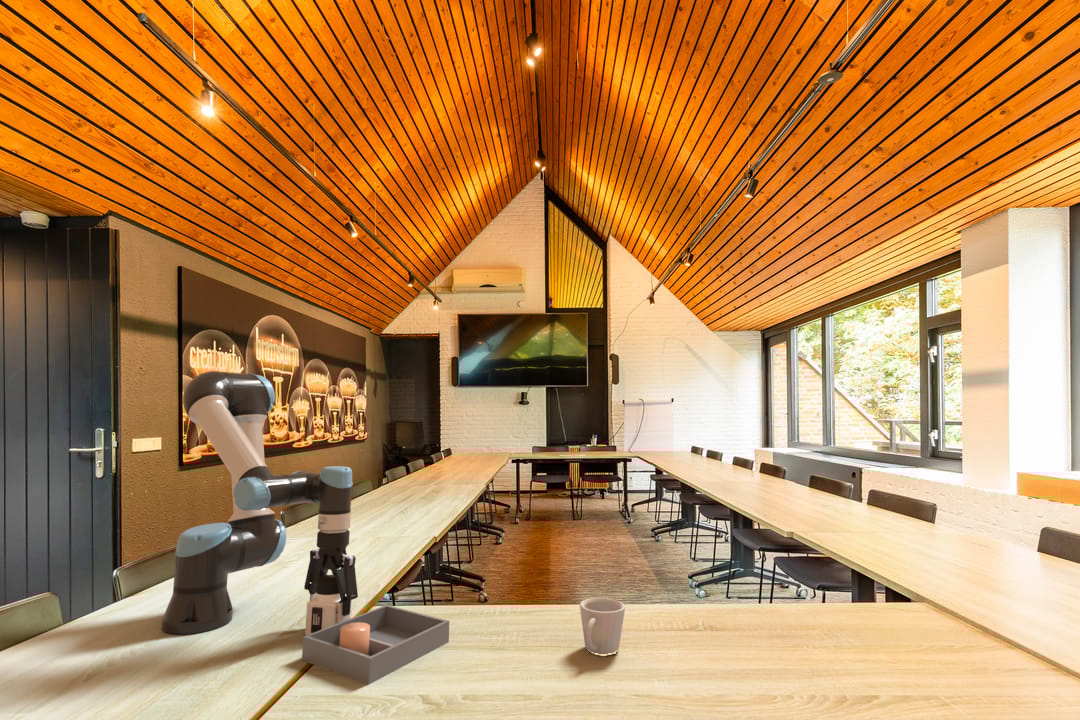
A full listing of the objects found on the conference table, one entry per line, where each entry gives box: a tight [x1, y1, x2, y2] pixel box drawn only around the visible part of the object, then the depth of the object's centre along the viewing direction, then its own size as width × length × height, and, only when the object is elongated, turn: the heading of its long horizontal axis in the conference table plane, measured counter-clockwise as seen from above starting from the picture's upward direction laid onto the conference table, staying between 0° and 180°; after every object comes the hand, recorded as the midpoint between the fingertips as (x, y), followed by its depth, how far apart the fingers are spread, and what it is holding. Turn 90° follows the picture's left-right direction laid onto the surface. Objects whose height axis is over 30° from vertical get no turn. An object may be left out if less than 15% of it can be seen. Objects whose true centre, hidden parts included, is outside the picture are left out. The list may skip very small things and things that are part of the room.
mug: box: [579, 597, 626, 654], centre depth 127 cm, size 10×15×10 cm
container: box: [304, 573, 353, 636], centre depth 137 cm, size 8×8×13 cm
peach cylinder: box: [339, 622, 370, 656], centre depth 118 cm, size 6×6×7 cm
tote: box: [301, 604, 450, 685], centre depth 124 cm, size 20×24×6 cm
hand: (328, 624), depth 136 cm, fingers closed on container, 9 cm apart
